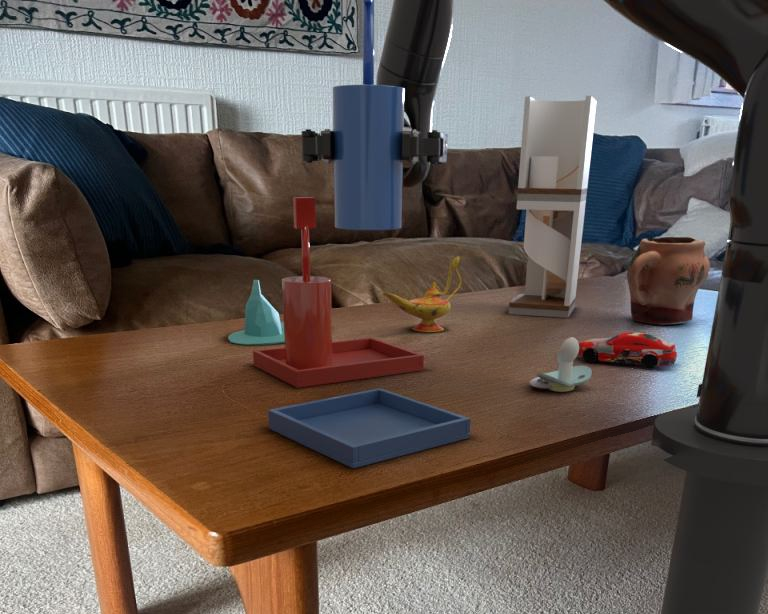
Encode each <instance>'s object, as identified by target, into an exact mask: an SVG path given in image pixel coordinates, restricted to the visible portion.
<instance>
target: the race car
mask: <svg viewBox="0 0 768 614" xmlns="http://www.w3.org/2000/svg"><path fill="white" fill-rule="evenodd" d="M578 344H579V352H578V355H577V357H580V358H583V359H584V361H585V362H586V363H590V364H591V363H592V364H593V363H595V362H597V360H598V361H599V362H607V363H608V362H609V363H616V364H617V363H619V364H626V365H627V364H628V365H636V366H641V365H642V366H643V368H645V369H646V370H652V369H654V368H656V366H657V367H666V366H671V365H674V364H675V363H676V360H677V357H678V352H677V351H676V344H675V343H673V342H671V341H668V340H665V339H663V338H661V337H659V336H656V335H653V334H649V333H644V332H636V331H627V332H621V333H619V334H615V335H613V336H610V337H605V338H604V337H603V338H602V337H601V338H590V339H589V338H588V339H584V340H582V341H580V342H578Z"/></svg>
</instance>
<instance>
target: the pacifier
mask: <svg viewBox="0 0 768 614" xmlns="http://www.w3.org/2000/svg"><path fill="white" fill-rule="evenodd" d="M578 352H579V341H578V340H577V339H576V338H575V337H572V336H571V337H567V338H566V339H565V340H563V342H562V343H561V344H560V346H559V348H558V350H557V354H556V360H557V363H558V370H554V371H550V372H545V373H540V372H536V376H537V377H535V378H532V379H531V380H530V381H529V385H530V386H532V388H537V389H544V390H545V389H546V390H547V389H548V390H550V391H553V392H560V393H564V392H571V391H573V390H574V389H575V388H576V386H579V385H583V384H585V383H587V382H588V381H589V380H590V379H591V378H592V375H593V372H592V368H591V367H589V366H586V365H574V360H575V359H576V358H577V357H578ZM545 382H546V383H545Z"/></svg>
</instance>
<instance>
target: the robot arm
mask: <svg viewBox="0 0 768 614" xmlns="http://www.w3.org/2000/svg"><path fill="white" fill-rule="evenodd" d="M602 1H603V2H604V3H606V5H608V6H609V7H610V8H611V9H612V10H614V11H615V12H616V13H618V15H621V16H622V17H623V18H624V19H626V20H627V21H628V22H630V23H631V24H633V25H634V26H636V27H637V28H638V29H640V30H642V31H644V32H645V33H646V34H648V35H650V36H651V37H652V38H654V39H656V40H658V41H660V42H662V43H664V44H665V45H667V46H668V47H671V48H672V49H674V50H676V51H678V52H680V53H682V54H684V55H685V56H688V57H689V58H691V59H693V60H695V61H697V62H699V63H700V64H701V65H704V66H705V67H707V68H708V69H710V70H711V71H712V72H713V73H715V74H716V75H717V76H719V78H721V79H722V80H723V81H724V82H725V83H726V84H728V85H729V86H730V87H731V88H732V90H734V91H735V92H736V93H737V94H738V95H739V96H740V97H741V98H742V99H743V100H742V105H741V109H740V115H739V120H738V127H737V133H736V138H735V139H736V140H735V146H734V153H733V160H732V167H731V173H730V174H731V175H730V182H729V189H728V190H729V191H728V210H729V216H730V220H729V221H730V223H729V229H728V230H729V231H728V236H727V239H728V240H727V242H726V247H725V253H724V259H723V265H722V269H721V275H720V281H719V285H718V286H719V287H718V292H717V298H716V302H715V308H714V314H713V320H712V325H711V330H710V337H709V342H708V347H707V353H706V359H705V365H704V369H703V375H702V382H701V383H700V384H698V385H697V391H696V392H697V393H696V397H695V398H696V399H697V398H699V399H698V402H697V415H696V417H695V420H694V428H695V429H696V430H697V431H698V432H700V433H702V434H704V435H706V436H708V437H711V438H714V439H717V440H720V441H724V442H729V443H733V444H739V445H746V446H756V447H768V0H602ZM454 15H455V13H454V0H393V1H392V7H391V12H390V17H389V20H388V24H387V28H386V34H385V39H384V41H383V45H382V46H383V47H382V51H381V56H380V60H379V64H378V68H377V73H376V77H375V85H389V86H398V87H402V88H404V114H405V115H406V117H407V118H408V121H409V122H408V121H407V119H406V118H405V117H404V131H402V160H403V190H414V189H416V188H418V186H420V185H421V184H422V183H423V182H424V181H425V179H426V178H427V177H428V174H429V171H430V168H431V165H444V163H447V161H448V139H449V138H448V136H449V134H448V133H445V132H444V131H438V130H437V129H433V117H434V116H433V114H434V105H435V101H436V100H435V99H436V95H437V90H438V86H439V82H440V79H441V76H442V72H443V68H444V65H445V61H446V57H447V53H448V50H449V47H450V42H451V38H452V32H453V26H454ZM301 155H302V156H301V157H302V160H301V161H302V162H305V163H306V164H312V163H313V162H325V164H331V163H332V165H334V157H333V129H331V128H324V130H320V132H316V130H312V129H311V128H305V130H301Z"/></svg>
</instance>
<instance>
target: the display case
mask: <svg viewBox="0 0 768 614" xmlns="http://www.w3.org/2000/svg"><path fill="white" fill-rule="evenodd" d="M597 102H598V101H597V100H596V99H595V97H594V96H592V95H585V99H583V100H541V99H536V98H534V97H532V96H531V95H529V96H524V103H523V117H522V118H523V119H522V128H521V129H522V130H521V144H520V155H519V156H520V157H519V172H518V182H517V198H516V210H526V211H525V212H526V213H525V223H524V236H523V250H524V252H525V254H526V255H527V262H526V264H527V265H526V273H525V274H526V276H525V287H524V293H519V294H517V295H516V296H515V297H513V299H512V300H511V301H509V302H508V304H509V305H508V315H517V316H518V315H519V316H534V317H548V318H550V317H551V318H564V319H568V318H569V317H570V316H571V314H572V312H573V311H574V309H575V304H576V297H577V287H578V277H579V269H580V259H581V249H582V241H583V239H582V238H583V232H584V222H585V213H586V203H587V195H588V194H587V193H588V185H589V177H590V168H591V167H590V166H591V159H592V158H591V157H592V148H593V139H594V130H595V120H596V111H597Z"/></svg>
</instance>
